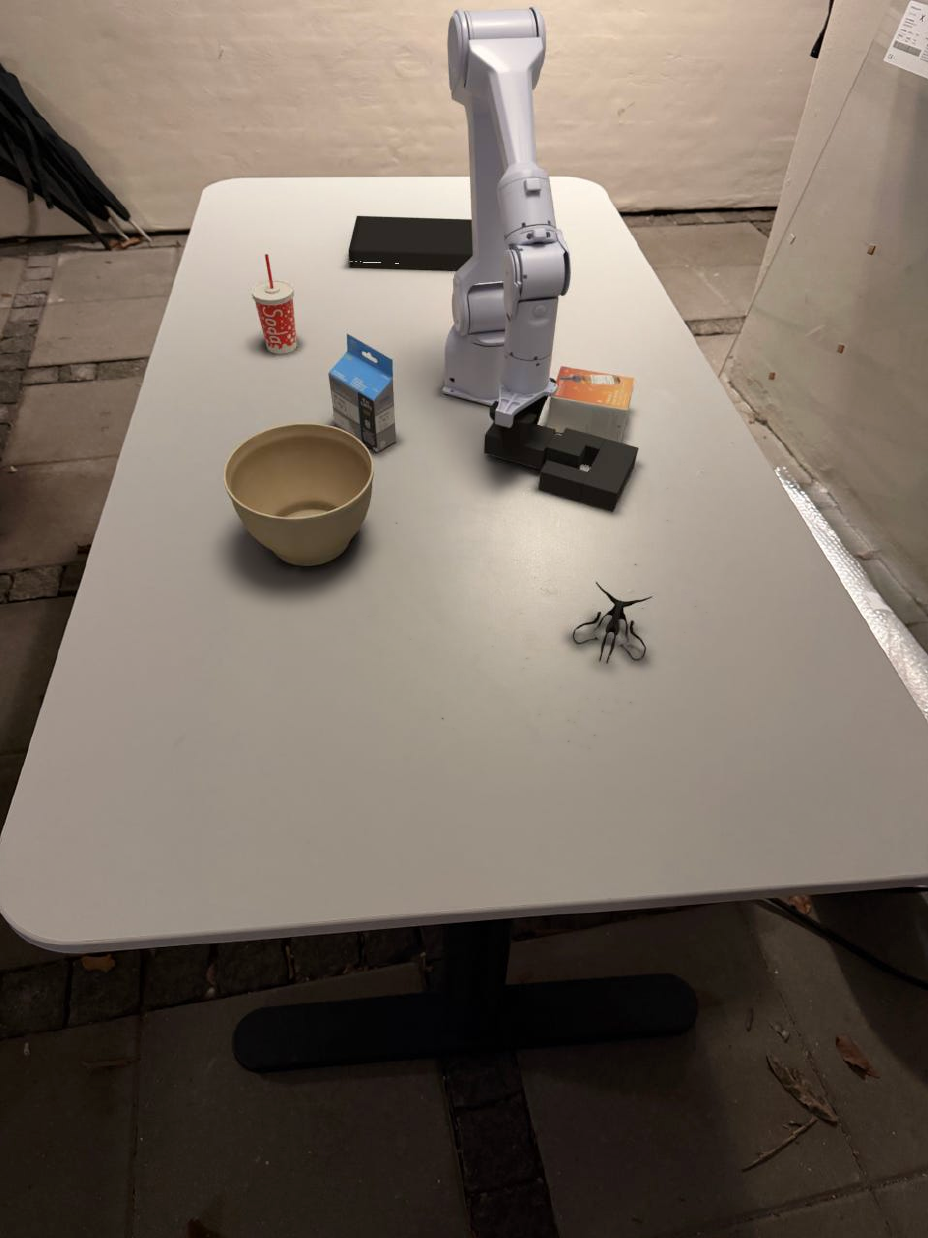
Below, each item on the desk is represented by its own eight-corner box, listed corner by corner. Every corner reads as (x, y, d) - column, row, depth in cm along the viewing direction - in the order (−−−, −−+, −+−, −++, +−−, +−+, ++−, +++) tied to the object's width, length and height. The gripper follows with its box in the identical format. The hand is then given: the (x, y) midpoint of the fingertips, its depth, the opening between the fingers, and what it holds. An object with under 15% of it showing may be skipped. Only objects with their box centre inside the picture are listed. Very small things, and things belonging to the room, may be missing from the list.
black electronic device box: (358, 231, 145) (356, 214, 143) (481, 235, 146) (481, 218, 143) (349, 267, 136) (348, 250, 134) (481, 271, 136) (481, 254, 134)
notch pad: (538, 489, 99) (540, 471, 97) (563, 445, 105) (565, 427, 103) (613, 511, 97) (617, 493, 94) (634, 465, 103) (638, 447, 100)
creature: (638, 679, 81) (654, 616, 85) (646, 658, 77) (663, 591, 80) (565, 659, 83) (584, 597, 86) (569, 636, 78) (589, 572, 82)
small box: (629, 410, 101) (550, 396, 103) (621, 444, 106) (545, 431, 107) (635, 376, 106) (560, 364, 108) (627, 411, 111) (555, 398, 112)
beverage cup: (254, 351, 118) (235, 259, 108) (275, 331, 122) (259, 241, 111) (289, 360, 117) (274, 268, 106) (309, 340, 121) (296, 249, 110)
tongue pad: (483, 453, 102) (484, 434, 100) (497, 432, 105) (498, 413, 103) (573, 479, 99) (577, 460, 97) (585, 457, 102) (589, 438, 100)
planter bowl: (268, 607, 85) (249, 536, 77) (225, 517, 94) (205, 445, 86) (401, 561, 90) (397, 489, 82) (349, 480, 99) (340, 408, 91)
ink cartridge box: (332, 425, 107) (322, 343, 97) (354, 413, 109) (345, 332, 99) (377, 453, 103) (370, 371, 93) (398, 441, 105) (394, 359, 95)
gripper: (539, 387, 86) (528, 483, 96) (579, 326, 94) (565, 419, 105) (480, 372, 87) (476, 467, 98) (525, 313, 96) (517, 406, 106)
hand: (519, 442), depth 101 cm, fingers closed on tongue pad, 5 cm apart
